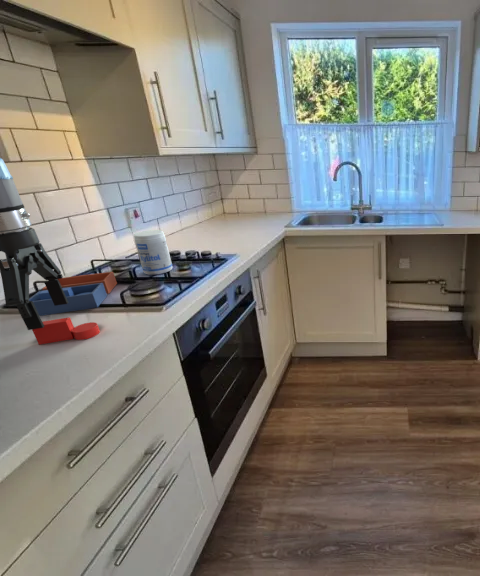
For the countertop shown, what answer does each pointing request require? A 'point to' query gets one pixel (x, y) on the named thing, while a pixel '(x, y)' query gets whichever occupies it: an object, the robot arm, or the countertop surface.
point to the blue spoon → (67, 291)
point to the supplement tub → (153, 252)
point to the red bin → (90, 281)
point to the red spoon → (64, 331)
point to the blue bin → (72, 300)
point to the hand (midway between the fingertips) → (49, 315)
